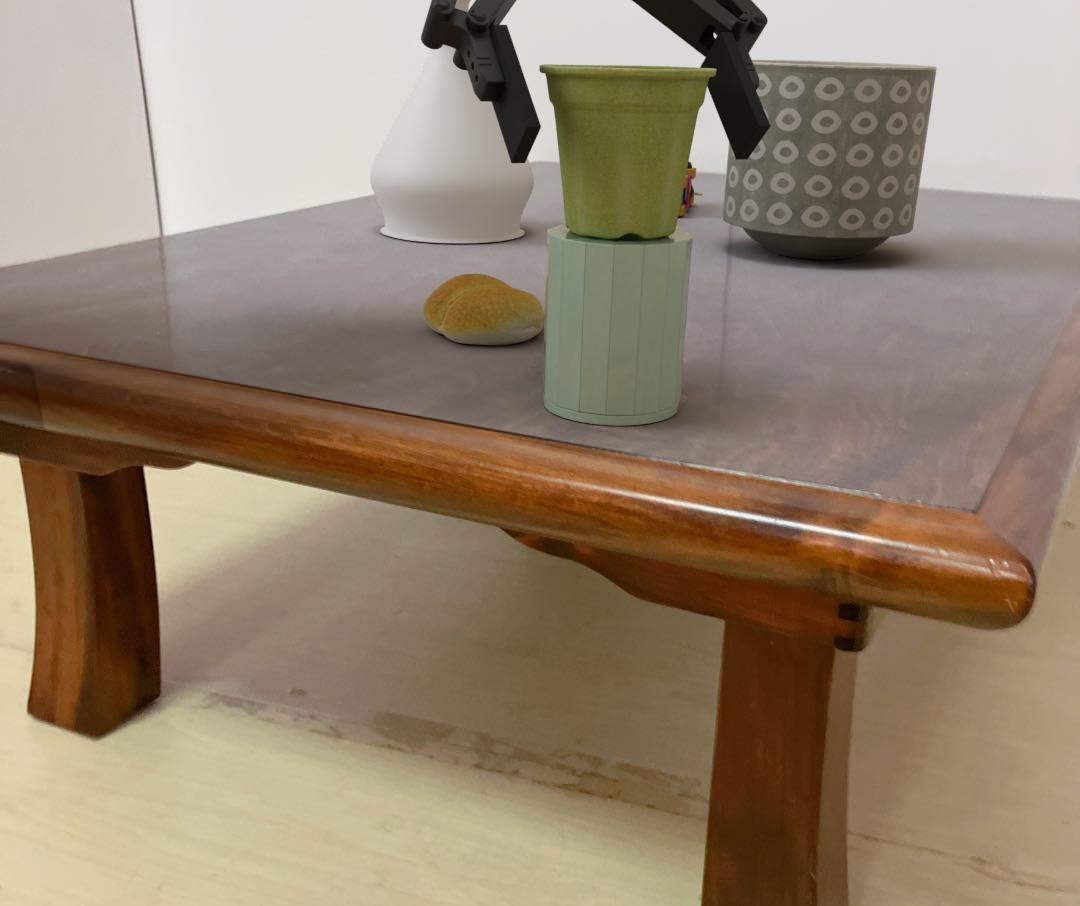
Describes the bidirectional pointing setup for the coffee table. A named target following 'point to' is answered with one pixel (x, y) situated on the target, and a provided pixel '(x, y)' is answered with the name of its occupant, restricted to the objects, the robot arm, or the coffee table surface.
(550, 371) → the cup
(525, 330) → the bread roll
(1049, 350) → the coffee table surface
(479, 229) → the vase
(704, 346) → the coffee table surface
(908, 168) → the planter
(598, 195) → the plant pot
